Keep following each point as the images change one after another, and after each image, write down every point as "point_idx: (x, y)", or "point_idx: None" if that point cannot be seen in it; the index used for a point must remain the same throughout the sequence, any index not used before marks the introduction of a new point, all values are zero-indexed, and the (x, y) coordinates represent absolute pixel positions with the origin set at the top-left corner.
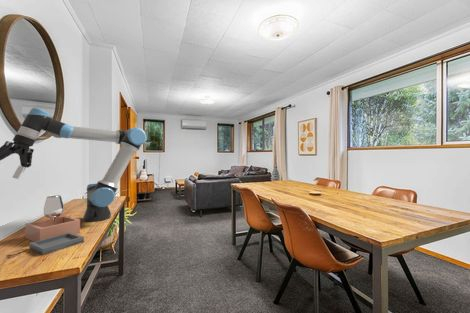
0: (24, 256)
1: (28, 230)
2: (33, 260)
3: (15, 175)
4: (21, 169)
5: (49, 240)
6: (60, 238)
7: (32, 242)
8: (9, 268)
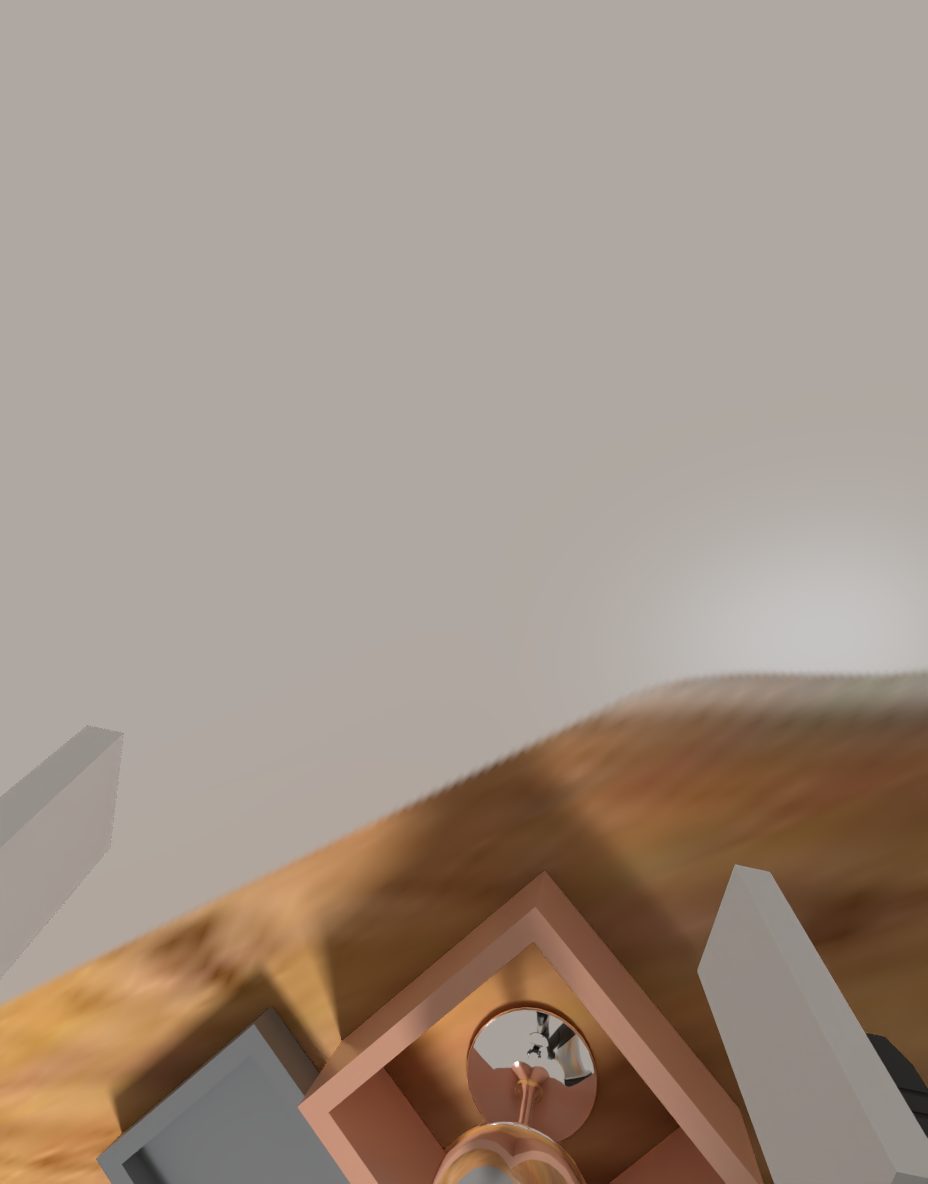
0: (146, 1029)
1: (487, 934)
2: (63, 1106)
3: (741, 947)
4: (793, 1176)
5: None
6: None
7: (258, 1040)
8: (8, 1022)
